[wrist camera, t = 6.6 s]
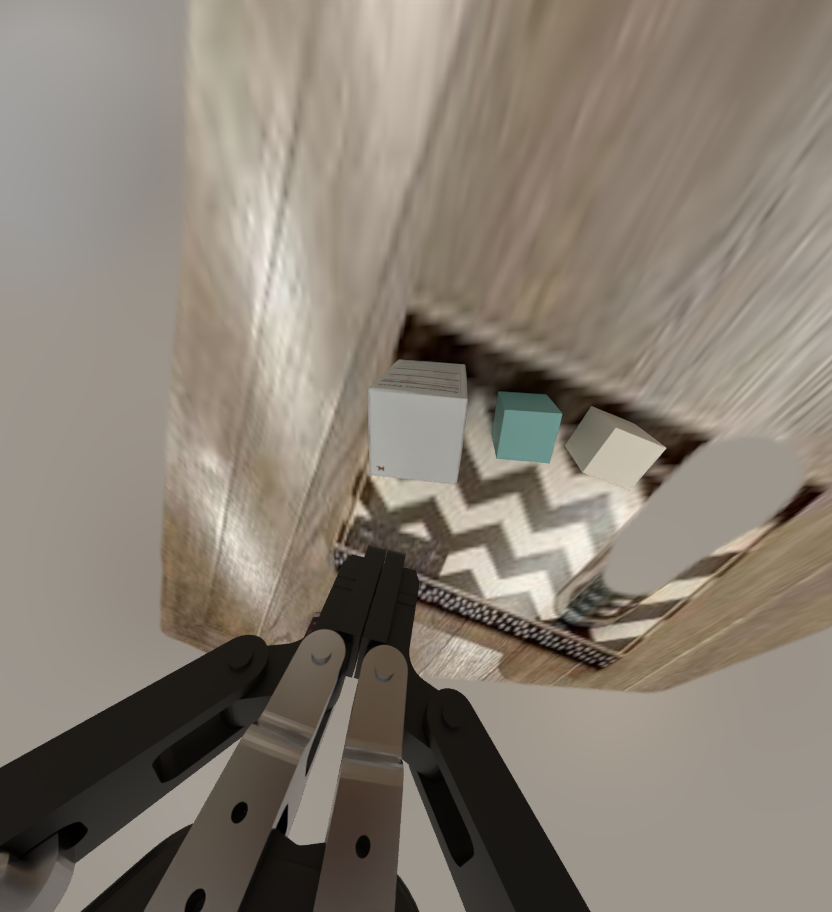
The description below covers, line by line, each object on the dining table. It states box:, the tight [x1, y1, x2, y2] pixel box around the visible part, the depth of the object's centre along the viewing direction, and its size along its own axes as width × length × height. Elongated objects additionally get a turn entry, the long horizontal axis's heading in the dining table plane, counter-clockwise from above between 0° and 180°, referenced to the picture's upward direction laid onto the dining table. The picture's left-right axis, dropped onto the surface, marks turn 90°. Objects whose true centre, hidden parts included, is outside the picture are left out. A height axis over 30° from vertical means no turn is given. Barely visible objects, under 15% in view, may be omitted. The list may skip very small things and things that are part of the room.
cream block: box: [565, 406, 666, 491], centre depth 32 cm, size 5×5×6 cm
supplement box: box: [368, 360, 468, 484], centre depth 29 cm, size 7×7×13 cm
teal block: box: [492, 391, 562, 463], centre depth 32 cm, size 5×5×6 cm
